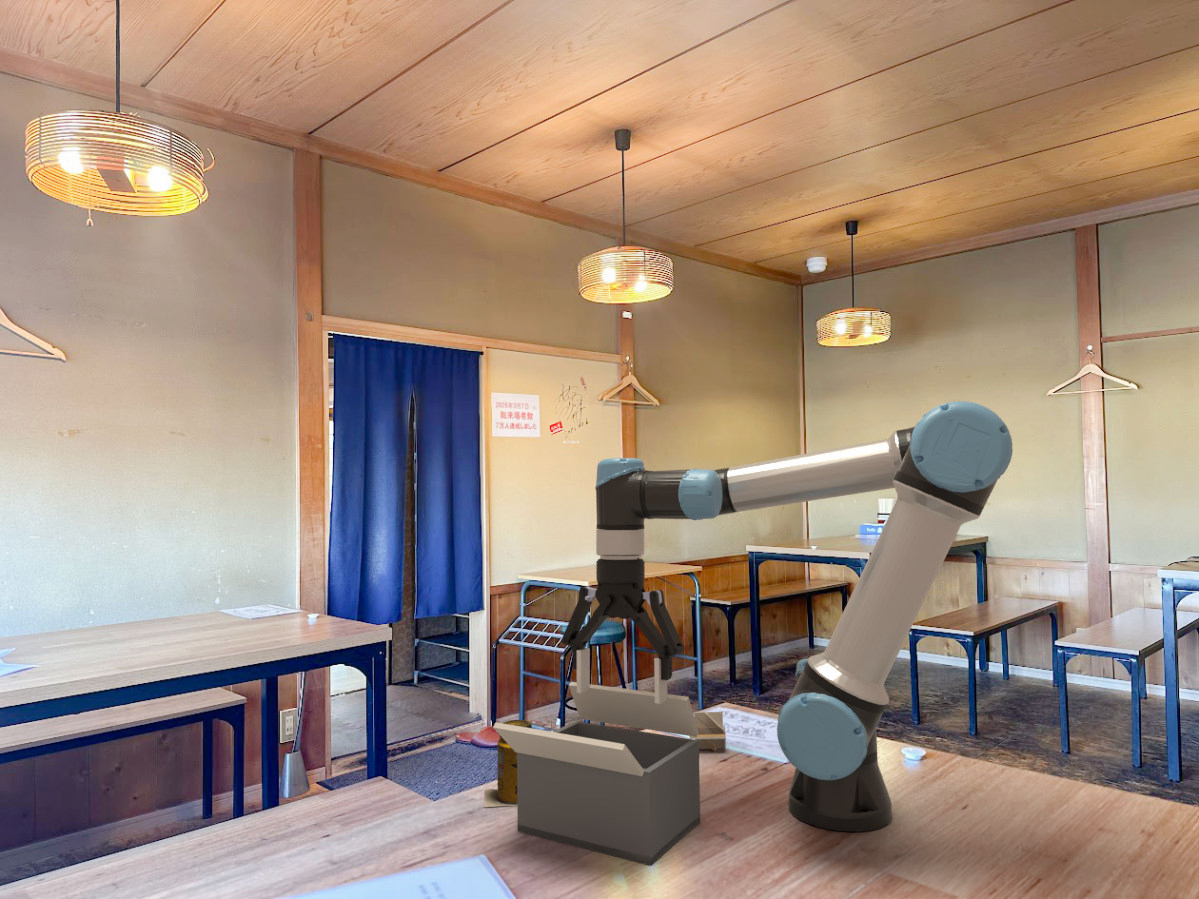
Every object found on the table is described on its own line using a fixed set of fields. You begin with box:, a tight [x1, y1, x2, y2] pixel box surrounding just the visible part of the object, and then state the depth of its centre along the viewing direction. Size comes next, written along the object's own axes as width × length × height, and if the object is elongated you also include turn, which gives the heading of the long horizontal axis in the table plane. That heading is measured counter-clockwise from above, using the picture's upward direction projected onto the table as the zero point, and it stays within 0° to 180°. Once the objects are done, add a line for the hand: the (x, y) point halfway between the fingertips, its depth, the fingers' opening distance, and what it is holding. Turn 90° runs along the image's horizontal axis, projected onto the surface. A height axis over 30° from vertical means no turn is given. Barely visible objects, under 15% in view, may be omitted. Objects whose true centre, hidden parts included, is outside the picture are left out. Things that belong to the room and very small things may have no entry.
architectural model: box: [688, 711, 727, 752], centre depth 151 cm, size 3×7×7 cm, turn 90°
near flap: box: [493, 722, 644, 776], centre depth 107 cm, size 21×7×1 cm
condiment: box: [483, 719, 533, 808], centre depth 128 cm, size 7×8×12 cm
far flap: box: [568, 681, 699, 737], centre depth 123 cm, size 21×7×1 cm
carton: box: [516, 720, 701, 866], centre depth 116 cm, size 22×16×12 cm
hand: (621, 696), depth 120 cm, fingers open, 13 cm apart
